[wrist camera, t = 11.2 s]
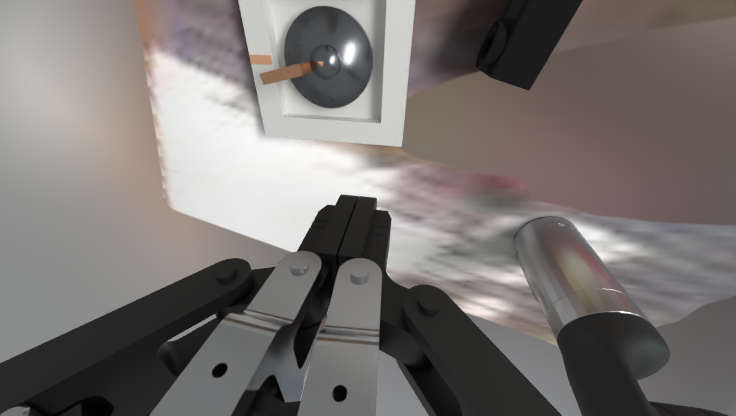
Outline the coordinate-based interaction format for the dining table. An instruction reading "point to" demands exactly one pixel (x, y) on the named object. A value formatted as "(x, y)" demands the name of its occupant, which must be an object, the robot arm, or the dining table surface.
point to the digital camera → (524, 39)
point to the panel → (376, 103)
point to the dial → (326, 57)
